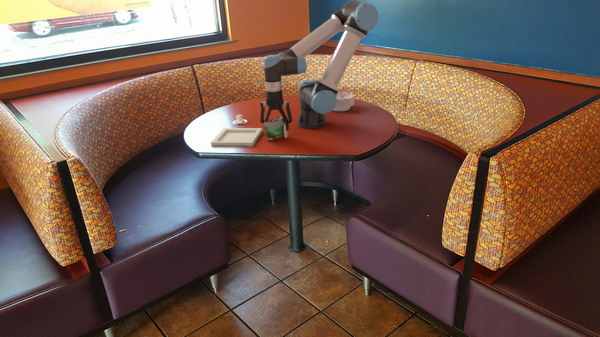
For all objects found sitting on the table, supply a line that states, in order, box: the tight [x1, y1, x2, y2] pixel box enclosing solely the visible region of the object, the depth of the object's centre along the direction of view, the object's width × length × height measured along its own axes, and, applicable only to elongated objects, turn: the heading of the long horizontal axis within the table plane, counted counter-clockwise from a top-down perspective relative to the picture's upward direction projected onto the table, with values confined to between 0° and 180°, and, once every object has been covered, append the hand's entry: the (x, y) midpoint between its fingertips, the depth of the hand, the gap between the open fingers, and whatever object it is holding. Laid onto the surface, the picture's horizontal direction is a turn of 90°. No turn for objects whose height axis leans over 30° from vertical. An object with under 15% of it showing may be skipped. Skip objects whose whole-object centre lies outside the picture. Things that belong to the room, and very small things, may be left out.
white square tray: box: [210, 127, 263, 148], centre depth 219 cm, size 20×20×2 cm
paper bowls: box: [332, 92, 355, 112], centre depth 254 cm, size 15×15×8 cm
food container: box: [263, 114, 285, 142], centre depth 215 cm, size 12×6×10 cm, turn 144°
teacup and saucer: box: [232, 114, 248, 125], centre depth 243 cm, size 9×8×4 cm
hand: (277, 136), depth 216 cm, fingers closed on food container, 8 cm apart
